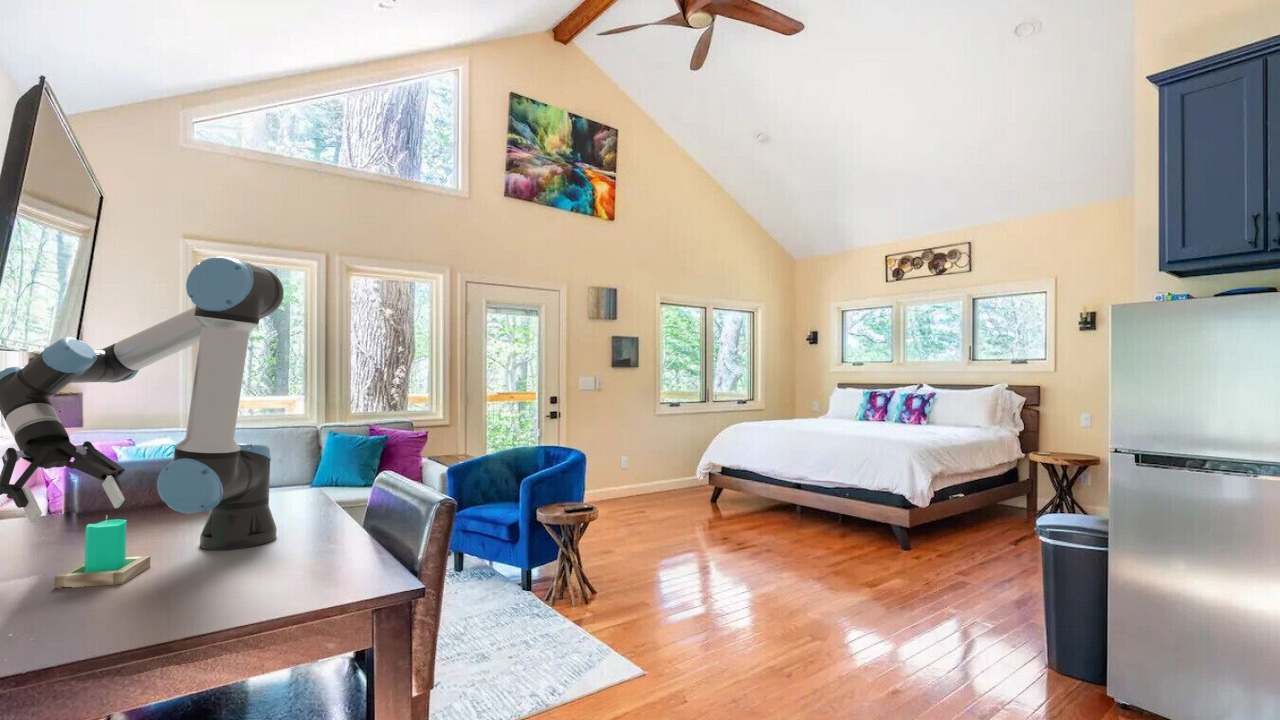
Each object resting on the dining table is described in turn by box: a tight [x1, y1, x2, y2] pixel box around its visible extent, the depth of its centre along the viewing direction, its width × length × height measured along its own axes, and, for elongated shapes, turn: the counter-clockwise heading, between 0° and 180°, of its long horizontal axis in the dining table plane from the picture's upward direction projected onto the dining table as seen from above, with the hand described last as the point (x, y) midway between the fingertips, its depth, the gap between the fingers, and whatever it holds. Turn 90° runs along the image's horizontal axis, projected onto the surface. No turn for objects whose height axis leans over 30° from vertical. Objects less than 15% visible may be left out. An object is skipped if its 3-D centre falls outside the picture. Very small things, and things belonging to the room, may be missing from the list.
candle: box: [84, 514, 128, 573], centre depth 119 cm, size 6×6×12 cm
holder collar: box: [53, 555, 152, 589], centre depth 119 cm, size 10×10×2 cm
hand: (80, 510), depth 121 cm, fingers open, 13 cm apart
